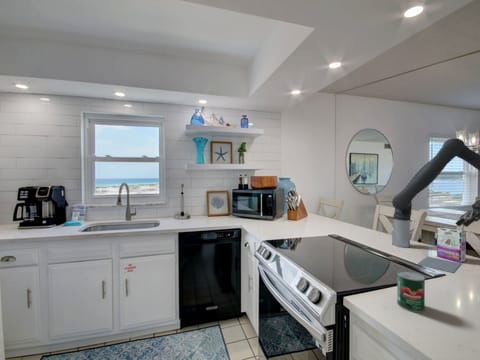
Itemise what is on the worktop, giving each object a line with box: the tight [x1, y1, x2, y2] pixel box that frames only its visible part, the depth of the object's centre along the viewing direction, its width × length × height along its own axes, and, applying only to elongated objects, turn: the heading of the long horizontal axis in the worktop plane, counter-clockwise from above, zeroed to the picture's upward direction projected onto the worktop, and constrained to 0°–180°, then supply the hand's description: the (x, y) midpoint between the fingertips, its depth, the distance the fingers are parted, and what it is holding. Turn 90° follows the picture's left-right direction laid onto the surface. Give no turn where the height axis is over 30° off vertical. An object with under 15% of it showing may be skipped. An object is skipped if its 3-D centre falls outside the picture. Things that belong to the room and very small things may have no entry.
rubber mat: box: [417, 256, 462, 274], centre depth 123 cm, size 14×18×1 cm
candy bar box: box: [436, 227, 467, 264], centre depth 130 cm, size 11×5×16 cm, turn 21°
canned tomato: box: [396, 270, 426, 313], centre depth 83 cm, size 8×8×11 cm
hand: (460, 225), depth 129 cm, fingers open, 8 cm apart
